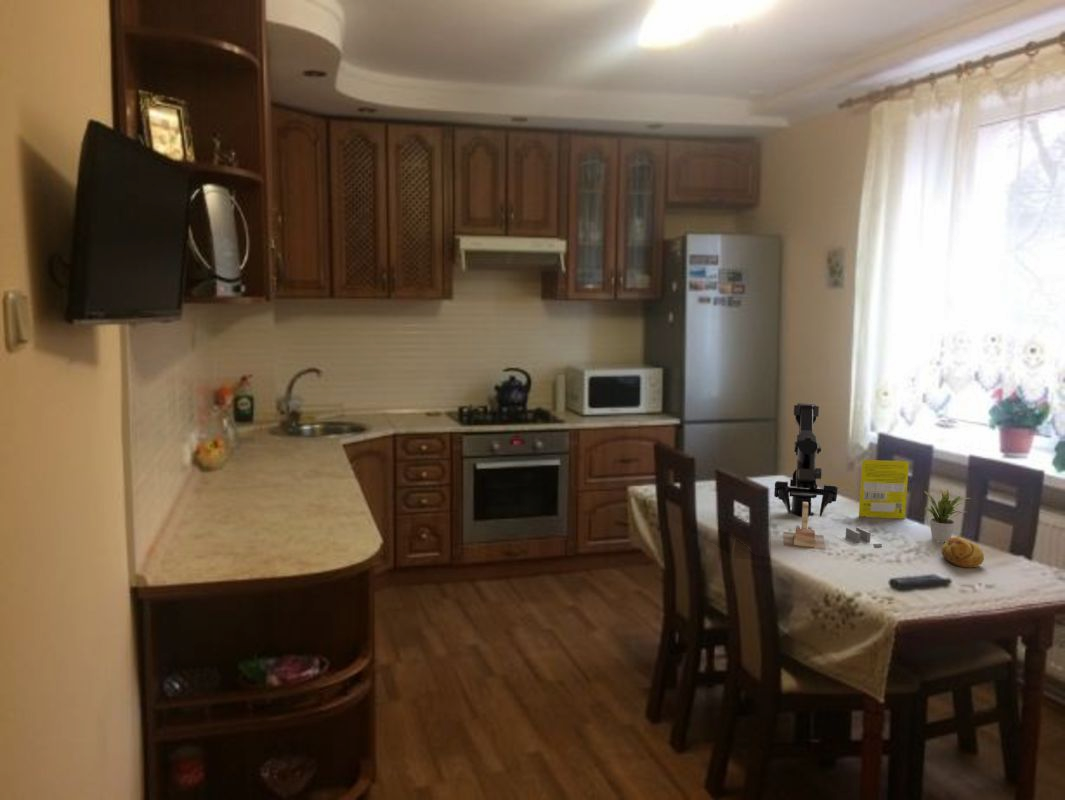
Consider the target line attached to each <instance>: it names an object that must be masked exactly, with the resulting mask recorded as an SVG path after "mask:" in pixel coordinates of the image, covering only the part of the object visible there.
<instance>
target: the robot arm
mask: <svg viewBox="0 0 1065 800" xmlns="http://www.w3.org/2000/svg"><path fill="white" fill-rule="evenodd" d="M819 411H820V406H818V405H816V403H809V402H808V403H806V402H805V403H804V402H803V403H802V402H797V404H796V405H795V404H794V405H793V417H795V418H794V419H795V420H794V423H795V424H796V425H797V428H798V434H797V435H796V441H794V442H793V443H794V445H793V453H795V455H796V469H795V470H794V472H793V474H792V478H790V480H789V482H788V481H782V480H781V481H780V480H776V481H775V482H774V492H773V493H774V494H773V495H774V497H775V498H777V499H778V500H780V501H781V502H782V503H783V504H784V507H785V508H786V511H787V513H788V514H789V515H791V514H793V515H796V516H798V517H802V509H803V502H808V516H813V515H815V512H812V499H816V498H817V497H818V496H821V497H822V498H821V503H820V504H821V505H820V510H819V517H822V515H823V513H824V511H825V509H826V508H827V506H828V504H832V503H833V502H836V501H837V497H838V487H837V485H835V484H834V485H833V484H824V485H823V488H818V484H817V480H821V479H822V468H821V467H816V460H817V455H819V454H820V453H821V451H822V447H821V446H820V443H819V442H817V441H818V440H817V438H818V437H817V436H816V434H814V425H815V423H816V421H817V418H818V417H819ZM791 497H792V499H791V502H790V498H791Z"/></svg>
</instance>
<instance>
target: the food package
mask: <svg viewBox="0 0 1065 800" xmlns="http://www.w3.org/2000/svg"><path fill="white" fill-rule="evenodd" d="M909 465H910V461H908V460H905V461H904V460H879V459H878V460H877V459H876V460H875V459H873V460H872V459H862V461H861V475H860V476H861V478H860V491H859V492H860V494H859V506H858V517H859V516H868V517H867V518H877V517H883V518H884V519H906V506H907V494H908V484H909V483H908V481H909V469H910V466H909ZM885 517H886V518H885ZM883 518H882V519H883Z"/></svg>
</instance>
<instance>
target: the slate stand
mask: <svg viewBox="0 0 1065 800" xmlns="http://www.w3.org/2000/svg"><path fill="white" fill-rule="evenodd" d="M871 533H872V532H871V531H868V530H867V529H864V528H863V527H860V526H856V528H855V529H853V528H851V527H846V528H845V534H840V535H837V534H836V535H835V534H834V537H835V538H838V539H839V540H842V541H844V542H845V543H848V545H851V546H864V545H873V547H874V548H880V547H881V548H882V547H883V543H882V542H880V541H878V540H876V539H874V538H872V537H871Z"/></svg>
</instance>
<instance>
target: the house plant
mask: <svg viewBox="0 0 1065 800" xmlns="http://www.w3.org/2000/svg"><path fill="white" fill-rule="evenodd" d="M939 490H940V492H941V495H942V496H941V499H940V500H938V502H937V503H936V500H935V499H934V497H933V496H931V494H929V493H928V492H927V491H923V492H924V493H925V494H926V495H927V496H926V498H927V499H928V500H929V502H930V507H929V508H928V507H925V509H924V511H928V512H930V513H931V514H932V515H933V517H931V518H930V519H929V522H930V533H931V540H932V539H933V540H932V541H934V540H935V541H934V542H937V541H938V543H944V542H946V541H947V540H948V539H950V538H952V535H953V531H954V529H955V525H956V522H955V521H954V520H952V519H953V518H954V517H956V516H957V515H959V514H963V515H965V513H967V511H964V510H963V511H959V510H958V511H957V510H956V507H958V506H959V505H961V504H962V502H960V501H963V500H965V499H968V500H969V499H970V500H971V499H972V500H973V498H971V497H963V496H965V494H961V495H958V496H957V497H955V498H954V499H951V500H950V493H949V490H948V489H946V491H944V492H943V491H942V489H941V488H940V489H939ZM958 502H959V503H958ZM955 513H957V514H956V515H954V516H953V517H951V516H952V515H953V514H955ZM949 517H951V518H950V519H949Z"/></svg>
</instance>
